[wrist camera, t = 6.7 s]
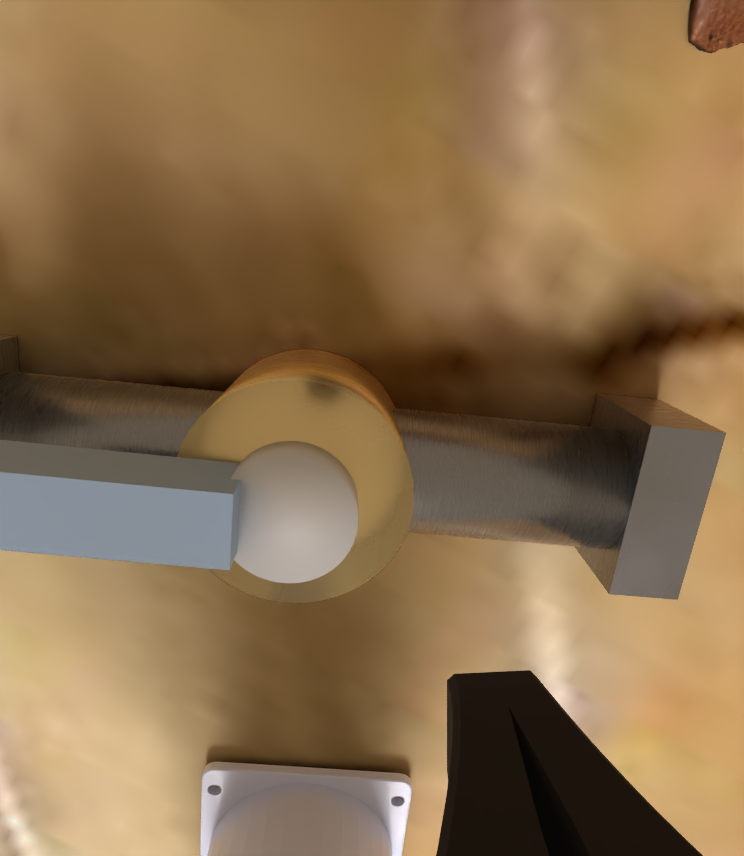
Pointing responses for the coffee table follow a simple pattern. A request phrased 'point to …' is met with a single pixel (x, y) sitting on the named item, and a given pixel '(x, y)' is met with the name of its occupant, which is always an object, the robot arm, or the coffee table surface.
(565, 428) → the valve body
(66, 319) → the coffee table surface
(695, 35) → the sunglasses case
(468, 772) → the robot arm
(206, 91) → the coffee table surface
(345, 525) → the lever
